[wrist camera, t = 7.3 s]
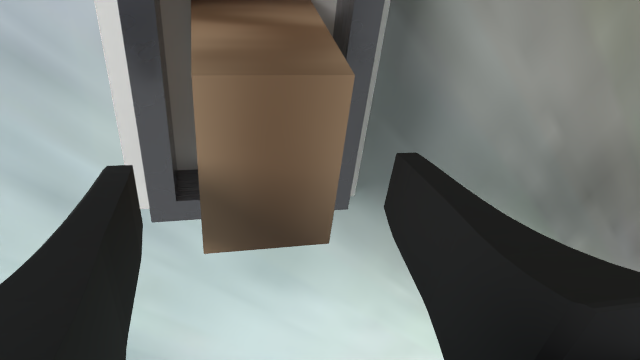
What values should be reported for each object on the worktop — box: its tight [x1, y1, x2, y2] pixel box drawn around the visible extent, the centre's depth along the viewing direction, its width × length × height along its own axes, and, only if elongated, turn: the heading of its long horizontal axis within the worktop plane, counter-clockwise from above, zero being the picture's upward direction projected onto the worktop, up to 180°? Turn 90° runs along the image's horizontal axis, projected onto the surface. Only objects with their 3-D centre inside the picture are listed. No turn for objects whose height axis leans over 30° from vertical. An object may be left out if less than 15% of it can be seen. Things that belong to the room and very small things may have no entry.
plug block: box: [191, 0, 355, 254], centre depth 16 cm, size 4×6×6 cm, turn 174°
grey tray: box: [94, 0, 391, 222], centre depth 18 cm, size 10×12×3 cm
